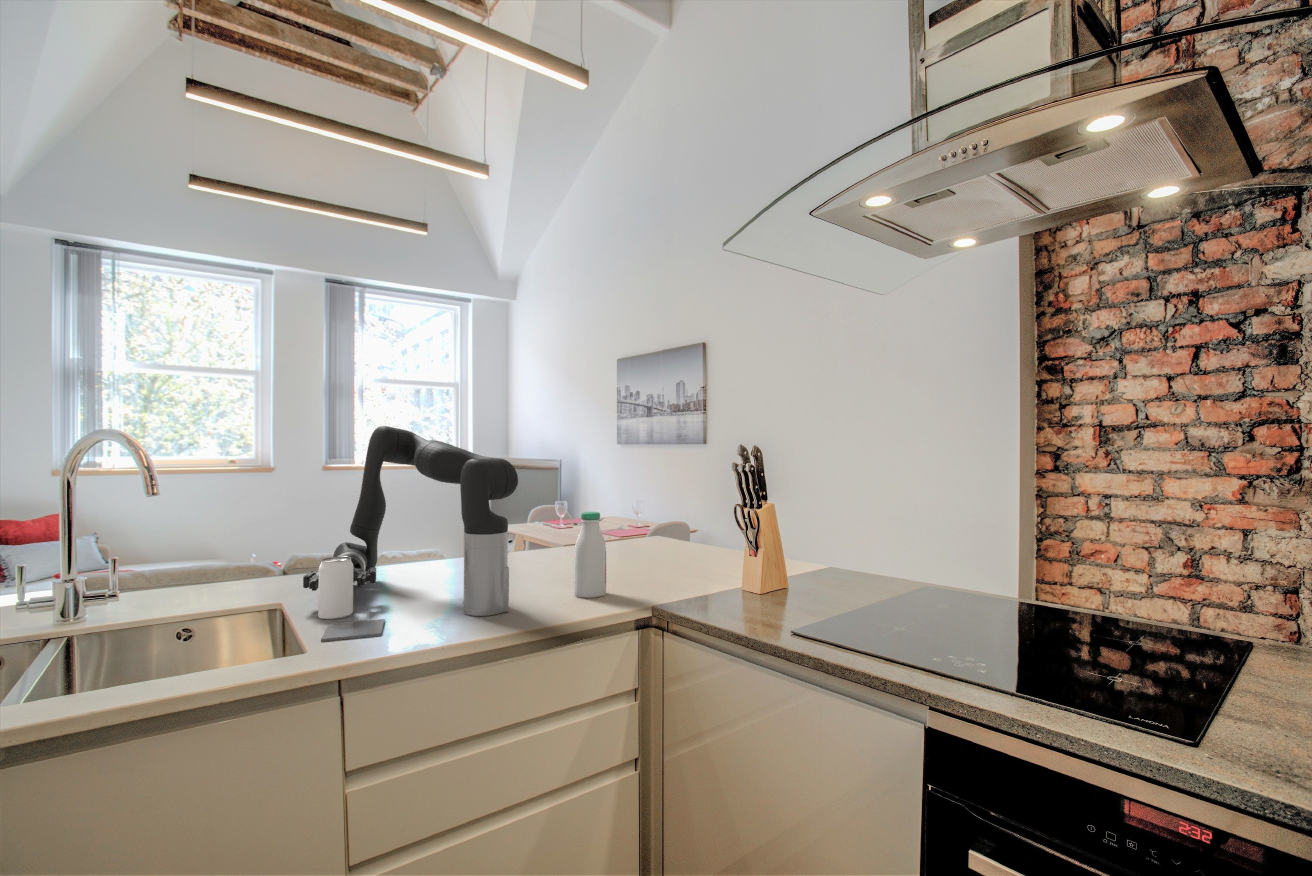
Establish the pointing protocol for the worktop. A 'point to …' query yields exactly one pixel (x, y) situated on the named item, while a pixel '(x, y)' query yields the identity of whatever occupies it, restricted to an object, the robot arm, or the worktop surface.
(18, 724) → the worktop surface
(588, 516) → the milk bottle
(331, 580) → the can
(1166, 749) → the worktop surface
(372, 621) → the coaster
